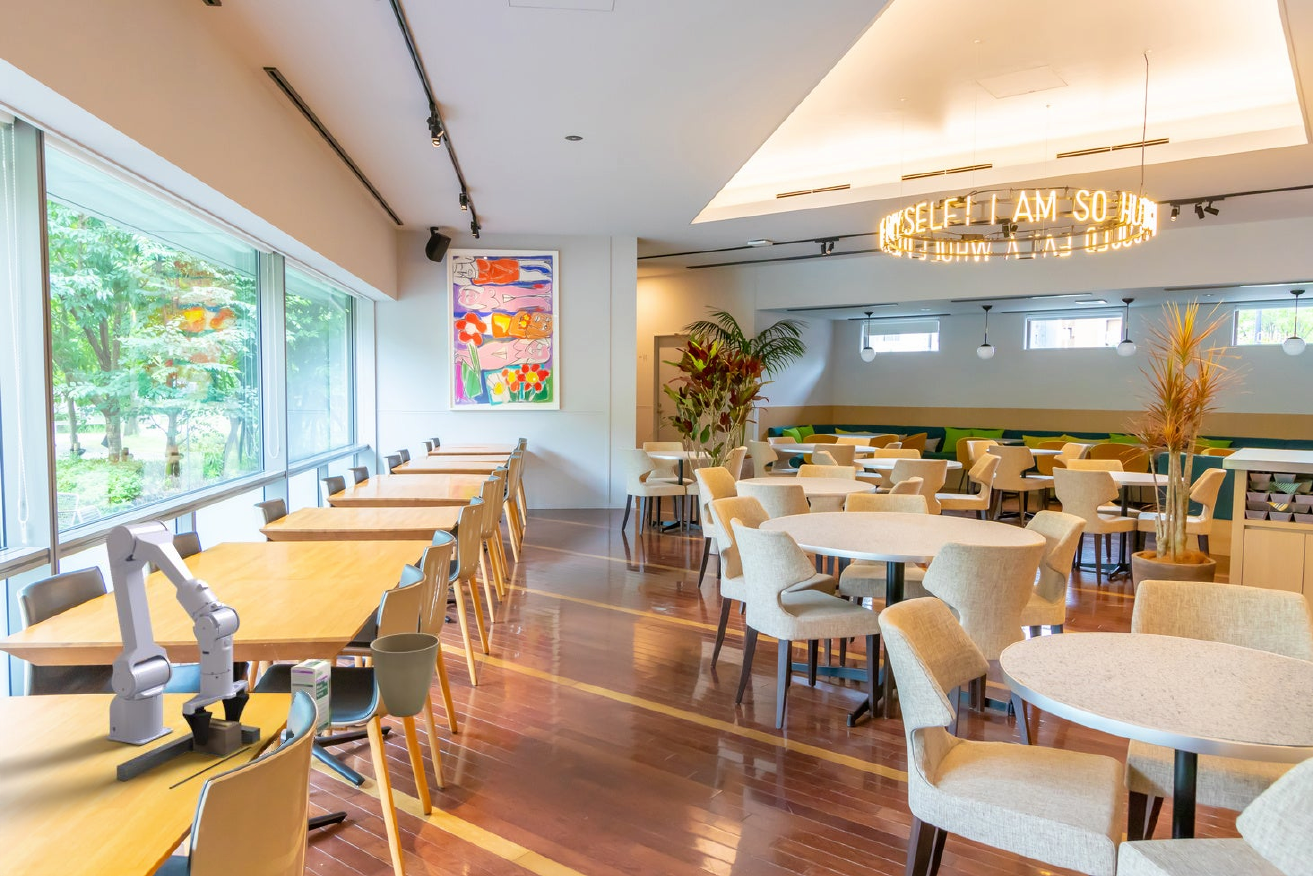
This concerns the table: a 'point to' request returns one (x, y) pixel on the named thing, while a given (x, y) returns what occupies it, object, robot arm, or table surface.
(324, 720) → the syrup box
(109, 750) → the table surface
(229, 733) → the taupe rectangular block
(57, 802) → the table surface
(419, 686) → the plant pot
